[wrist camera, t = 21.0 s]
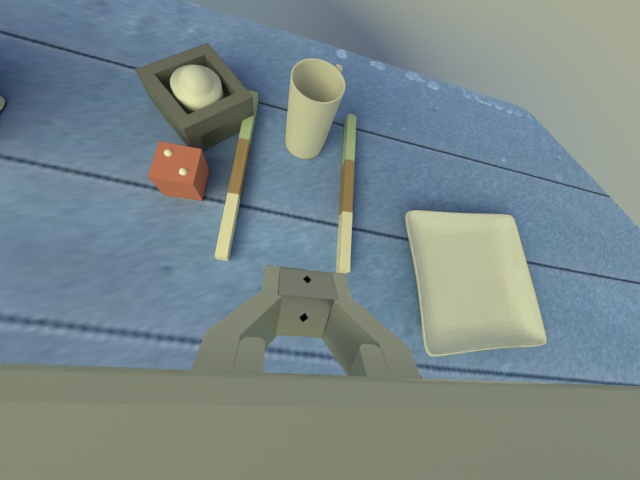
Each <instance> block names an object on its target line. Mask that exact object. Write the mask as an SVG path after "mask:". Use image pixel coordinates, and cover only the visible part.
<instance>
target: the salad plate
mask: <svg viewBox="0 0 640 480" xmlns="http://www.w3.org/2000/svg"><path fill="white" fill-rule="evenodd" d="M405 224H406V229H407V234H408V239H409V243H410V248H411V253H412V259H413V264H414V270H415V276H416V282H417V289H418V296H419V305H420V314H421V324H422V335H423V341H424V346H425V350H426V352H427V354H428V355H430V356H444V355H452V354H459V353H466V352H473V351H481V350H489V349H498V348H512V347H533V346H541V345H544V344H545V343H546V341H547V338H546V333H545V329H544V324H543V321H542V317H541V313H540V309H539V305H538V301H537V298H536V294H535V290H534V287H533V283H532V279H531V276H530V273H529V269H528V265H527V262H526V258H525V254H524V251H523V247H522V243H521V240H520V236H519V232H518V229H517V226H516V222H515V220H514V218H513V217H512V216H511V215H507V214H483V213H454V212H438V211H424V210H412V211H408V212H407V213H406V215H405Z"/></svg>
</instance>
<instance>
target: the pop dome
mask: <svg viewBox="0 0 640 480" xmlns="http://www.w3.org/2000/svg"><path fill="white" fill-rule="evenodd" d="M170 86H171V89H172V91H173V93H174V96H175V98H176V101H177V103H178V104H179V105H180V106H181V108H182V109H183V110H184V111H186V112H187V113H189V114H190V113H192V112H195V111H197V110H199V109H201V108H204V107H206V106H208V105H210V104H212V103H215V102H217V101H219V100H221V99H224V96H223V90H222V85H221V81H220V78H219V77H218V75H217V74H216V73H215V72H214V71H212V70H211V69H209V68H207V67H205V66H201V65H185V66H182V67H180V68H178V69H177V70H175V71H174V72H173V74H172V75H171V78H170Z"/></svg>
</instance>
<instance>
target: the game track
mask: <svg viewBox="0 0 640 480" xmlns="http://www.w3.org/2000/svg"><path fill="white" fill-rule="evenodd" d="M248 91H249V93H250V94H251V95H252V96H253V107H254V115H253V116H251V117H249V118H247V119H245V120H243V121H242V124H241V129H240V134H239V139H238V144H237V149H236V154H235V159H234V164H233V169H232V173H231V178H230V183H229V188H228V193H227V198H226V203H225V208H224V213H223V218H222V222H221V227H220V232H219V237H218V242H217V247H216V252H215V257H216V259H217V260H226V261H229V258H230V253H231V247H232V242H233V237H234V231H235V226H236V220H237V215H238V210H239V204H240V199H241V194H242V188H243V183H244V177H245V172H246V167H247V161H248V156H249V150H250V145H251V140H252V134H253V129H254V124H255V118H256V113H257V107H258V92H254V91H250V90H248ZM355 140H356V115H352V114H348V115H347V117H346V120H345V123H344V140H343V158H342V175H341V192H340V209H339V226H338V243H337V260H336V273H343V274H347V273H349V272H350V259H351V235H352V212H353V188H354V164H355Z"/></svg>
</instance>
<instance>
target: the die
mask: <svg viewBox="0 0 640 480" xmlns="http://www.w3.org/2000/svg"><path fill="white" fill-rule="evenodd" d="M209 171H210V169H209V167H208V164H207V162H206V159H205V156H204V154H203V151H202V149H198V148H193V147H187V146H182V145H177V144H171V143H166V142H161V141H159V143H158V146H157V149H156V153H155V156H154V159H153V162H152V165H151V169H150V172H149V175H148V177H149V178H150V180H151V181H152V182H153V183H154V184H155V185H156V186H157V188H158V189H159V190H160V191H161V192H162V193H163V195H167V196H173V197H180V198H186V199H193V200H200V201H203V197H204V192H205V188H206V184H207V180H208V175H209Z"/></svg>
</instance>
